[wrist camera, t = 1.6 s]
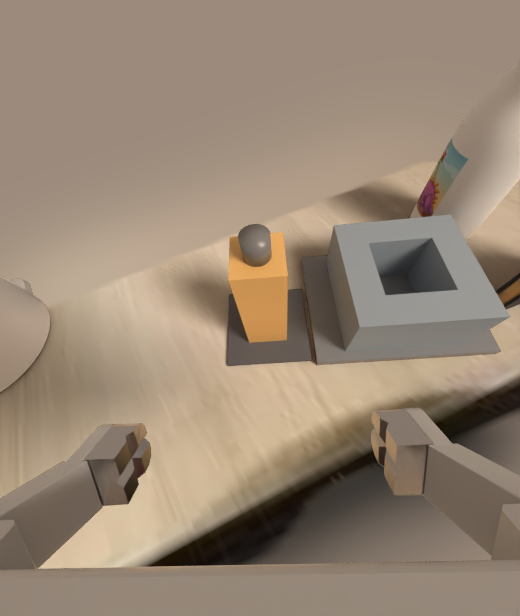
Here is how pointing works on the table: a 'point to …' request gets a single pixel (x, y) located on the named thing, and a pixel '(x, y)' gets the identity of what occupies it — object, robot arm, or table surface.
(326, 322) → the housing
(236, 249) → the plug
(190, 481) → the table surface
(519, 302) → the ammunition clip
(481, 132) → the milk bottle
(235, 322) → the mat
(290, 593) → the robot arm
